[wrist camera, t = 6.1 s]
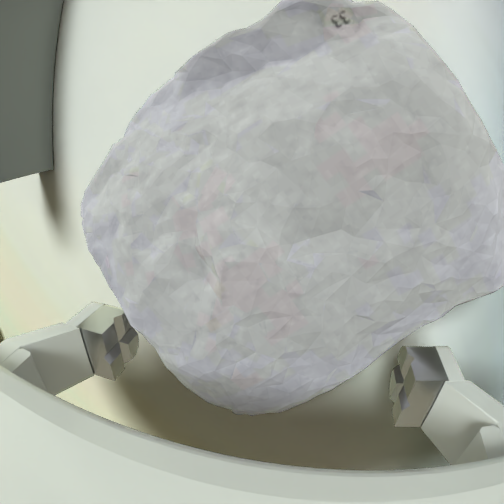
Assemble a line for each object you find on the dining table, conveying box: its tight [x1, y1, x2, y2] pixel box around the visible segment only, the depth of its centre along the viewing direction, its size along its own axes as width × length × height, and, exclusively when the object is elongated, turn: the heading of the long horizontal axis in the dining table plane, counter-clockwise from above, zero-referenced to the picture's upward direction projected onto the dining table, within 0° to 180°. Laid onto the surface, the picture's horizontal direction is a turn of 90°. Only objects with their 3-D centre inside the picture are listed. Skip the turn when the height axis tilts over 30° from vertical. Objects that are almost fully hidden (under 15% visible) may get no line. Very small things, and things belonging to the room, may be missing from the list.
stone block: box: [81, 0, 504, 416], centre depth 9 cm, size 12×5×10 cm
